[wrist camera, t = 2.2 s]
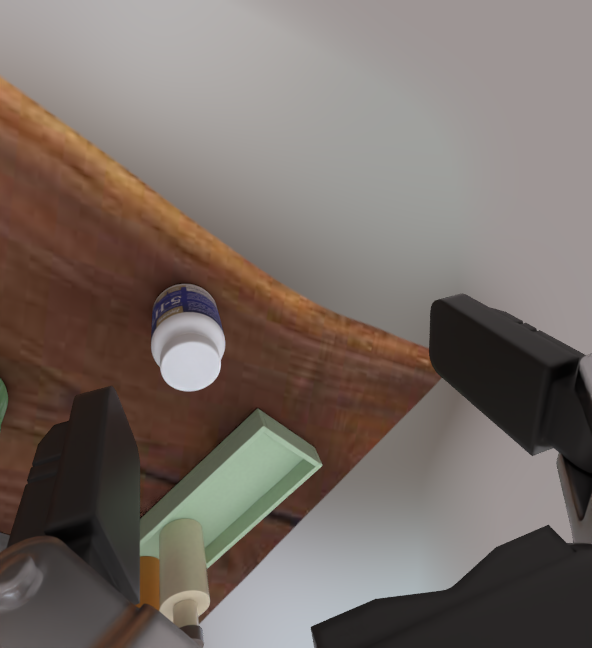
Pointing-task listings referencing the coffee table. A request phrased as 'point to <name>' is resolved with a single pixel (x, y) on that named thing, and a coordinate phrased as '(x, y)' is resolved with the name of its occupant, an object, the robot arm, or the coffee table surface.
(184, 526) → the cream bottle
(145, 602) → the amber bottle
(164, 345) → the pill bottle
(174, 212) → the coffee table surface
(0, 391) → the ramekin
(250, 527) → the tray
